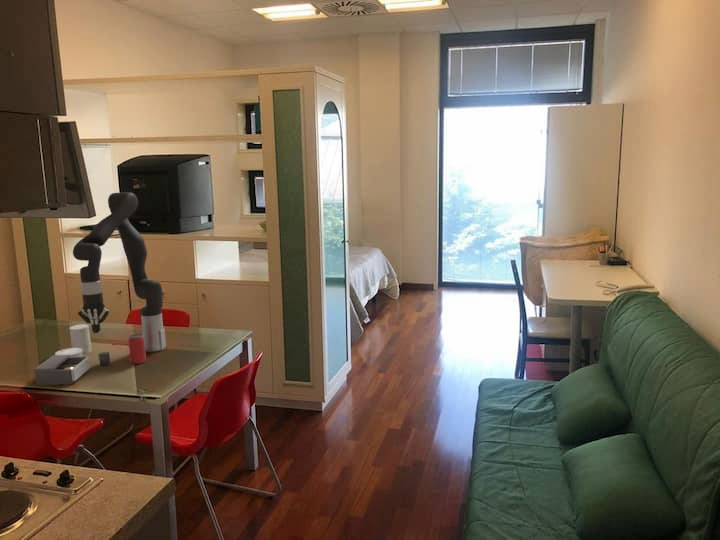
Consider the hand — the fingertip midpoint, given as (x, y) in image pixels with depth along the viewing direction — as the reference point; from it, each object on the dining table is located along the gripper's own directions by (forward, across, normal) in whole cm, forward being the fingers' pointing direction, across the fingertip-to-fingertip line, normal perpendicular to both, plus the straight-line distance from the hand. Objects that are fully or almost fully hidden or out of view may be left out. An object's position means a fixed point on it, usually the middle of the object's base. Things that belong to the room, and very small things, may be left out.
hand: (96, 332), depth 243 cm
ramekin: (+19, -21, +18) cm, 34 cm away
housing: (+19, -16, 0) cm, 25 cm away
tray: (+18, -15, 0) cm, 23 cm away
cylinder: (+19, -4, +14) cm, 24 cm away
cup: (+19, -22, +33) cm, 44 cm away
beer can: (+19, +10, +16) cm, 27 cm away
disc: (+17, -14, 0) cm, 22 cm away
